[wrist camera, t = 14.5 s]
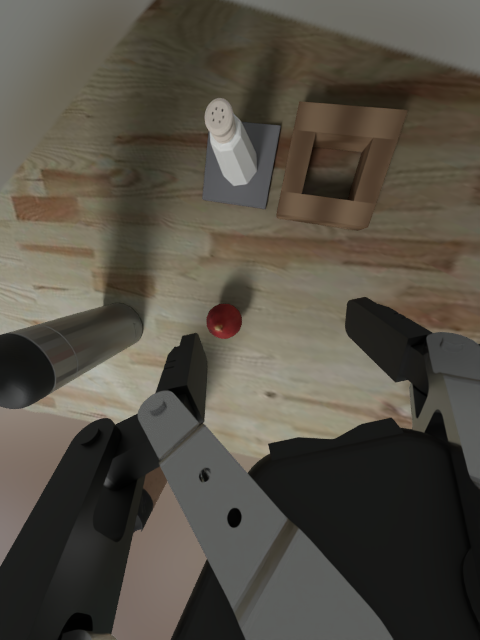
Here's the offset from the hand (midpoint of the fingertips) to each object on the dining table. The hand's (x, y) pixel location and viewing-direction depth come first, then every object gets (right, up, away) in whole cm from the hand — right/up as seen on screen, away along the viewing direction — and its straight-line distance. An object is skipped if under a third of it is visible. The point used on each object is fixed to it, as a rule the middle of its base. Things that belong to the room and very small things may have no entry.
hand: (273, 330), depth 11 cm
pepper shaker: (-2, +23, +19) cm, 30 cm away
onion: (-4, +2, +26) cm, 27 cm away
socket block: (+11, +21, +17) cm, 29 cm away
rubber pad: (-2, +23, +19) cm, 30 cm away
